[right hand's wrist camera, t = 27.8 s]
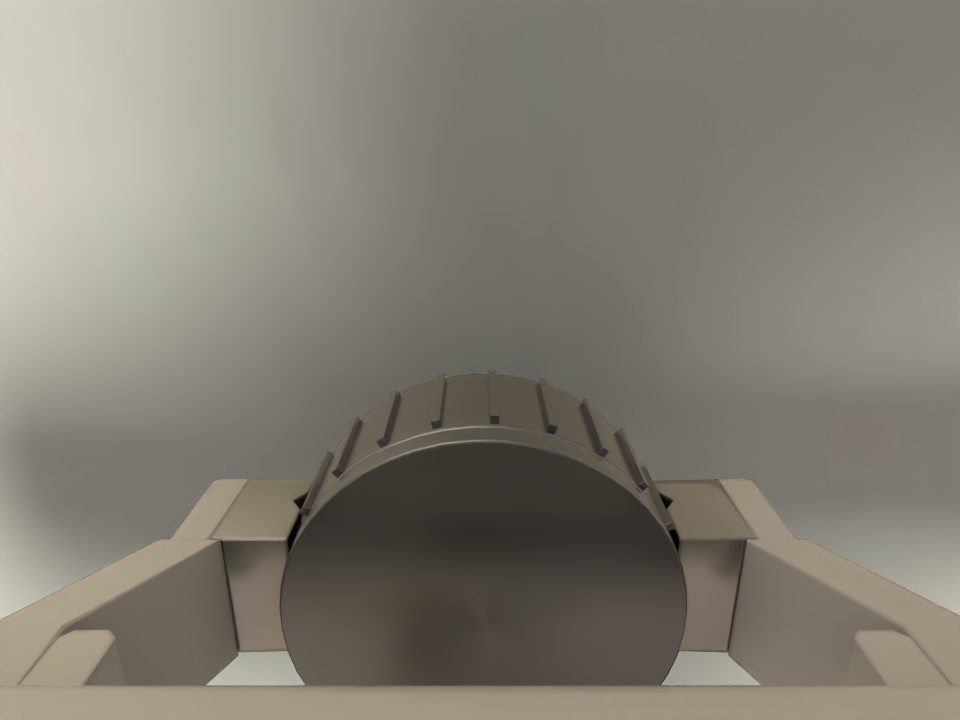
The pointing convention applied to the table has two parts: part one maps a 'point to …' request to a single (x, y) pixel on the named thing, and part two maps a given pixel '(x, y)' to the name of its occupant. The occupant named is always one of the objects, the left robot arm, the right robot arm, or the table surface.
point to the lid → (483, 547)
